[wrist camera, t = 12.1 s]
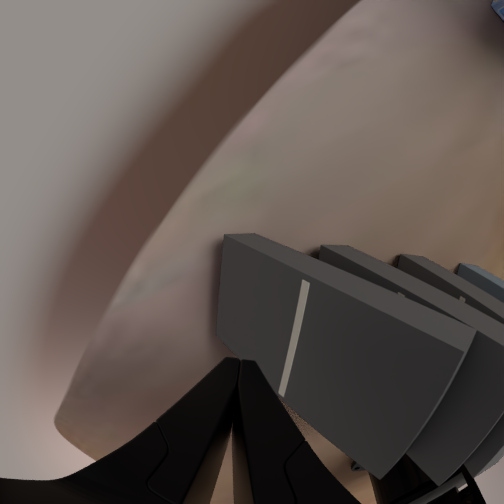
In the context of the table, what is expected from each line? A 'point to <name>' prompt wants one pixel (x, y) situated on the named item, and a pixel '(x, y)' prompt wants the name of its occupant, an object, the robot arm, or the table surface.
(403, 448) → the domino
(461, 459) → the domino
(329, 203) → the table surface
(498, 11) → the ink cartridge box
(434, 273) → the domino
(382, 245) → the table surface
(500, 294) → the domino
